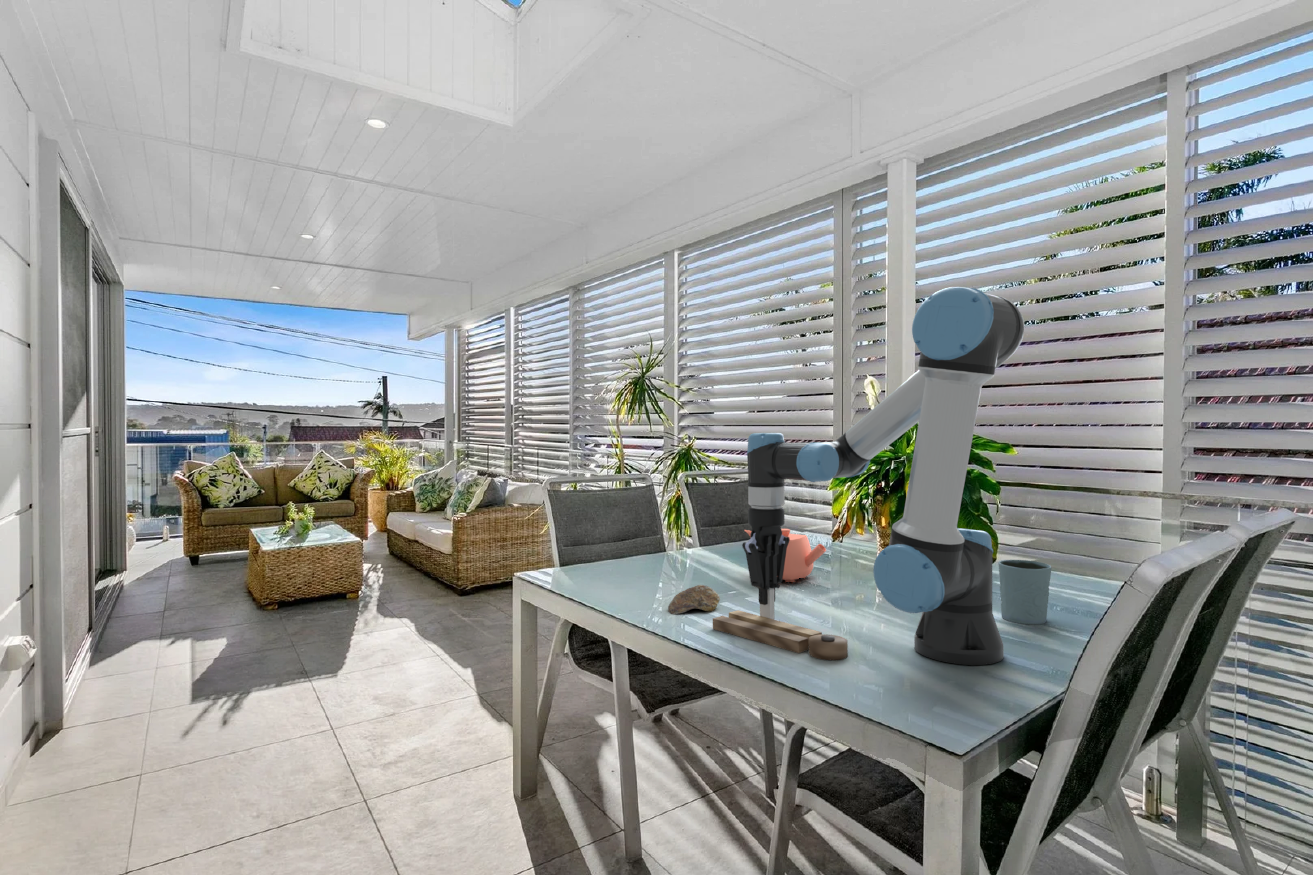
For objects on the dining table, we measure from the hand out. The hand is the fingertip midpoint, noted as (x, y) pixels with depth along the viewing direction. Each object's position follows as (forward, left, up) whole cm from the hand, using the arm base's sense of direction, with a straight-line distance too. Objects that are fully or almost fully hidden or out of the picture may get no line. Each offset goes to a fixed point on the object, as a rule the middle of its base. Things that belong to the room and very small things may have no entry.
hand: (767, 618), depth 144 cm
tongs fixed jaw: (-7, +5, -2) cm, 9 cm away
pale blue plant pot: (-34, -45, -2) cm, 57 cm away
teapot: (+28, -41, -2) cm, 50 cm away
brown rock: (+22, 0, -3) cm, 23 cm away
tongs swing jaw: (-3, +2, -2) cm, 4 cm away
